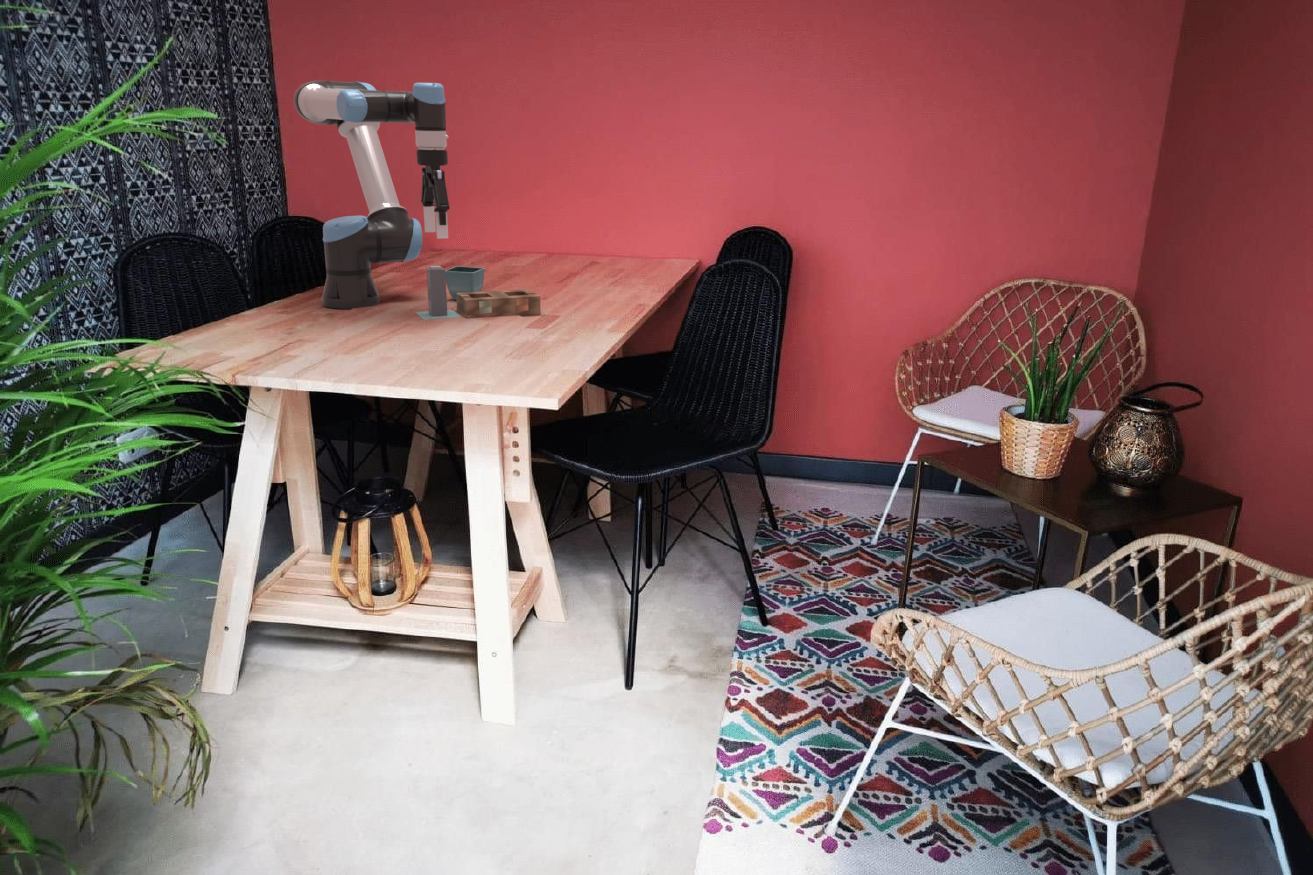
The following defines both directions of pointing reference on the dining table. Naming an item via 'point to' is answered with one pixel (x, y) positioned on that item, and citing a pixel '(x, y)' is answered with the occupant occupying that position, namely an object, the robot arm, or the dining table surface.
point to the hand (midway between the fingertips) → (436, 235)
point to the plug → (437, 291)
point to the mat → (426, 315)
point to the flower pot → (464, 280)
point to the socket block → (498, 303)
